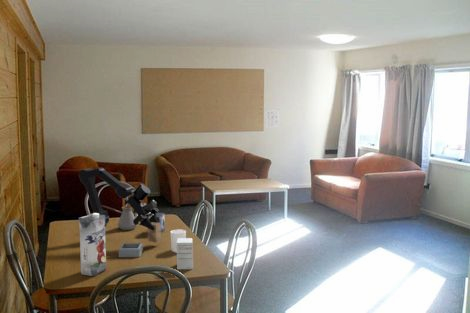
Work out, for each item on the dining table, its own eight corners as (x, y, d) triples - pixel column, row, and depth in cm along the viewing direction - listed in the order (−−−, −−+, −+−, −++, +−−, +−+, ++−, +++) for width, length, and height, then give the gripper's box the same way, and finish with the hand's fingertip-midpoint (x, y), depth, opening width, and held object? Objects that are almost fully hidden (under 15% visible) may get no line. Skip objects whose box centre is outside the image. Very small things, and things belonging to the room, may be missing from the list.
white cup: (173, 253, 250) (173, 234, 248) (168, 249, 256) (168, 230, 255) (188, 251, 253) (188, 232, 252) (182, 247, 260) (182, 228, 259)
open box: (118, 257, 244) (118, 249, 244) (122, 250, 254) (122, 243, 253) (139, 257, 244) (139, 249, 244) (142, 250, 254) (142, 242, 254)
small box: (159, 235, 282) (158, 217, 281) (148, 234, 284) (147, 216, 282) (165, 230, 293) (165, 212, 291) (154, 229, 294) (154, 212, 293)
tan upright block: (147, 241, 261) (147, 224, 259) (152, 238, 265) (152, 222, 264) (156, 242, 259) (156, 225, 258) (160, 239, 264) (160, 223, 262)
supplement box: (177, 264, 235) (176, 237, 233) (193, 263, 235) (192, 237, 234) (176, 269, 227) (176, 242, 226) (193, 269, 228) (192, 242, 226)
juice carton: (77, 275, 220) (75, 214, 216) (92, 267, 229) (90, 209, 226) (94, 277, 217) (92, 216, 213) (109, 270, 226) (107, 211, 223)
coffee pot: (136, 225, 303) (136, 201, 301) (138, 230, 292) (137, 205, 290) (100, 227, 297) (99, 202, 295) (100, 232, 286) (99, 207, 284)
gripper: (137, 199, 252) (157, 223, 249) (155, 192, 269) (174, 214, 267) (124, 213, 255) (144, 236, 253) (142, 205, 273) (161, 227, 271)
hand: (156, 228), depth 261 cm, fingers closed on tan upright block, 5 cm apart
